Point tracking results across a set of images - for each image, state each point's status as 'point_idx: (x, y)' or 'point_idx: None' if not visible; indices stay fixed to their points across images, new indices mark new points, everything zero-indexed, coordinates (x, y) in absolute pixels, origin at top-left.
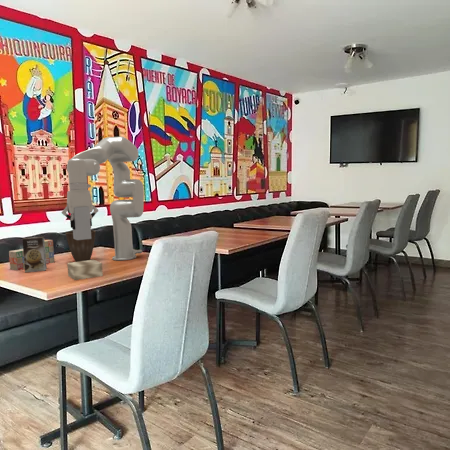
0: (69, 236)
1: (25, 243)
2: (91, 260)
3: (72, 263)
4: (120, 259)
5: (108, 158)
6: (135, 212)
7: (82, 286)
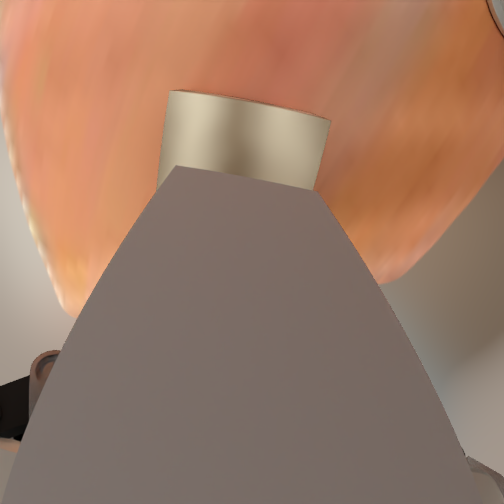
0: None
1: None
2: (305, 134)
3: (185, 128)
4: (498, 24)
5: None
6: None
7: None
